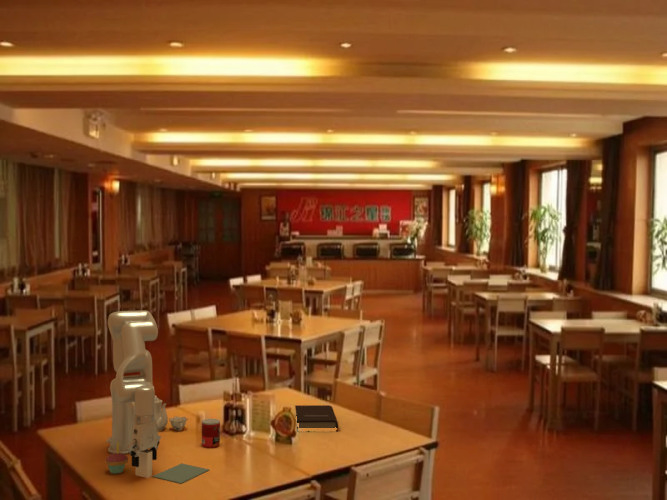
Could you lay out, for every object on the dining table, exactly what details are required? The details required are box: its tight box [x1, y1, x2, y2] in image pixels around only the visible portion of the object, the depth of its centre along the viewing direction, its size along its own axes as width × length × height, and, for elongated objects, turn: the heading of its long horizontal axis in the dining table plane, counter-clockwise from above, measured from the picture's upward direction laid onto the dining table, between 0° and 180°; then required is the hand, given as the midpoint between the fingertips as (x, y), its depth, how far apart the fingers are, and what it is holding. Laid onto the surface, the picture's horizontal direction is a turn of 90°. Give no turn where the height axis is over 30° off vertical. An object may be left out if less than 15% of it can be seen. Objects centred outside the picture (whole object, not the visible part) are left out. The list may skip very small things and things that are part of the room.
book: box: [294, 404, 339, 429], centre depth 349 cm, size 28×20×6 cm
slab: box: [135, 449, 153, 479], centre depth 272 cm, size 6×3×10 cm, turn 62°
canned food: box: [201, 418, 221, 449], centre depth 311 cm, size 8×8×11 cm
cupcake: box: [104, 440, 129, 475], centre depth 276 cm, size 9×8×12 cm
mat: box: [152, 463, 210, 485], centre depth 275 cm, size 14×17×1 cm
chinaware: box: [155, 395, 189, 432], centre depth 336 cm, size 28×17×17 cm, turn 57°
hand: (144, 462), depth 272 cm, fingers open, 9 cm apart
